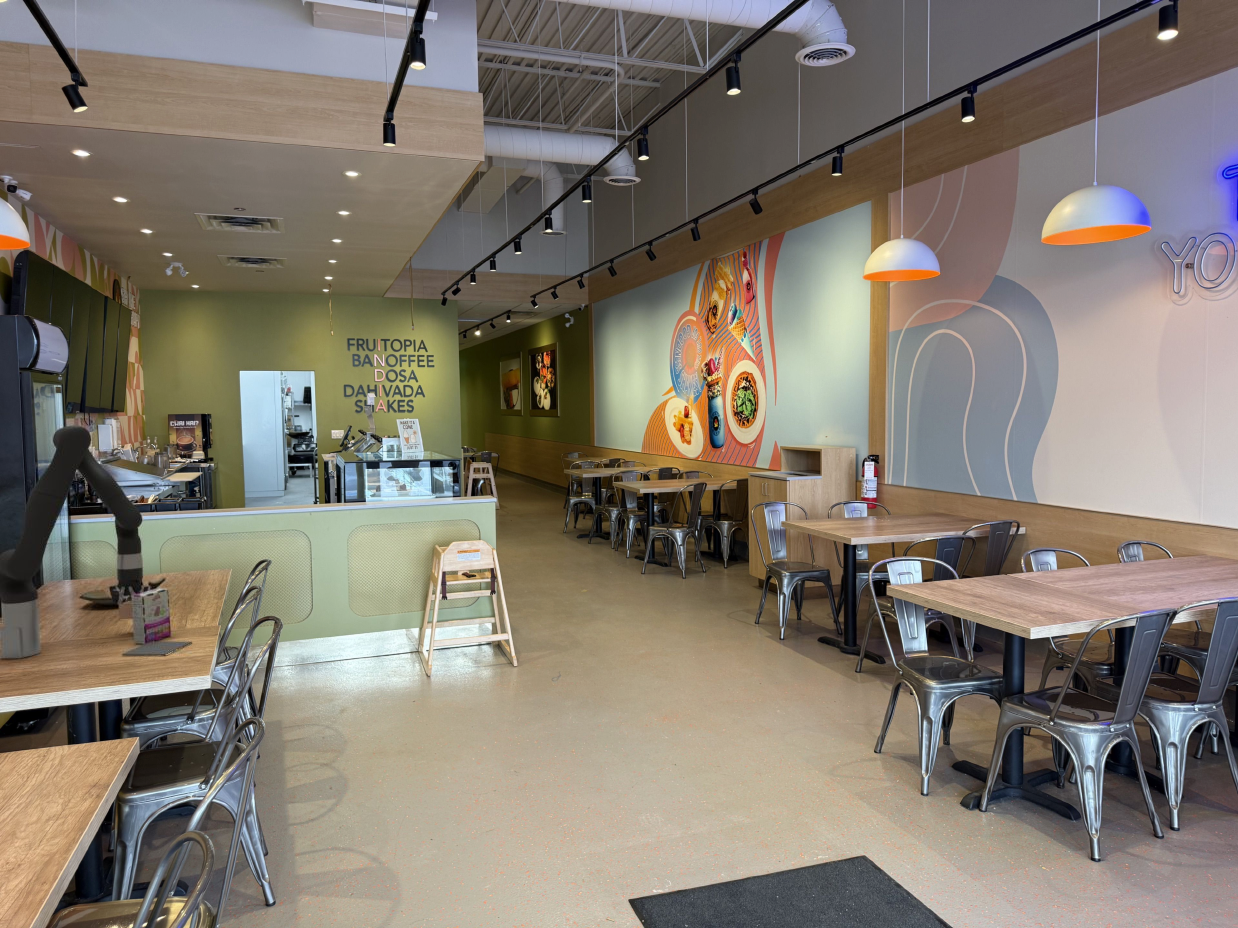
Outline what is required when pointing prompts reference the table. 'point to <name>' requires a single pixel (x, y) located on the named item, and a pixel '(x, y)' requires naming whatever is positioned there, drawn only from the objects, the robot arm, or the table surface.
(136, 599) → the candy bar box
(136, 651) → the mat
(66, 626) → the table surface
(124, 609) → the letter cube
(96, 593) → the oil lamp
